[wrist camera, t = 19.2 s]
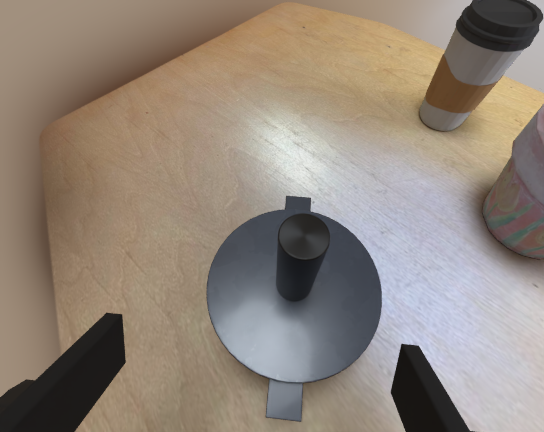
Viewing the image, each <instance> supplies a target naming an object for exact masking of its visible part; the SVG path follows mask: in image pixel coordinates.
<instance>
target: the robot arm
mask: <svg viewBox="0 0 544 432" xmlns="http://www.w3.org/2000/svg"><path fill="white" fill-rule="evenodd" d="M125 363H126V360H125V346H124V333H123V319H122V314H113V313H106V314H105V315H104V316H103V317H102V318H101V319H100V320H98V321H97V322H96V323H95V324H94V325H93V326H92V327H91V328H90V329H89V330H88V331H87V332H86V333H85V334H84V335H83V336H82V337H81V338H80V339H78V340H77V341H76V342H75V343H74V344H73V345H72V346H71V347H70V348H69V349H68V350H67V351H66V352H65V353H64V354H63V355H62V356H61V357H59V358H58V360H56V361H55V362H54V363H53V364H52V365H51V366H50V367H49V368H48V369H47V370H46V371H45V372H44V373H43V374H42V375H40V377H38V379H36V380H35V381H34V380H25V381H23V382H21V383H20V384H18V385H16V386H15V387H13V388H11V389H10V390H8V391H7V392H6V393H5V394H4V395H3V396H1V397H0V432H75V430H76V429H77V428H78V426H79V425H80V423H81V422H82V421H83V419H84V418H85V417H86V415H87V414H88V413H89V411H90V410H91V409H92V407H93V406H94V405H95V403H96V402H97V400H98V399H99V398H100V396H101V395H102V394H103V392H104V391H105V390H106V388H107V387H108V386H109V384H110V383H111V382H112V380H113V379H114V377H115V376H116V375H117V373H118V372H119V371H120V369H121V368H122V367H123V365H124V364H125ZM391 394H392V397H393V400H394V402H395V405H396V408H397V410H398V413H399V415H400V418H401V421H402V423H403V426H404V428H405V431H406V432H474V431H470V430H469V429H468V427H467V425H466V424H465V422H464V420H463V419H462V417H461V415H460V414H459V412H458V410H457V409H456V407H455V405H454V404H453V402H452V400H451V399H450V397H449V395H448V394H447V392H446V390H445V389H444V387H443V385H442V384H441V382H440V380H439V379H438V377H437V375H436V374H435V372H434V370H433V369H432V367H431V366H430V364H429V362H428V361H427V359H426V357H425V356H424V354H423V352H422V351H421V349H420V347H419V346H416V345H407V344H401V349H400V353H399V358H398V362H397V367H396V371H395V375H394V380H393V384H392V389H391Z"/></svg>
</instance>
